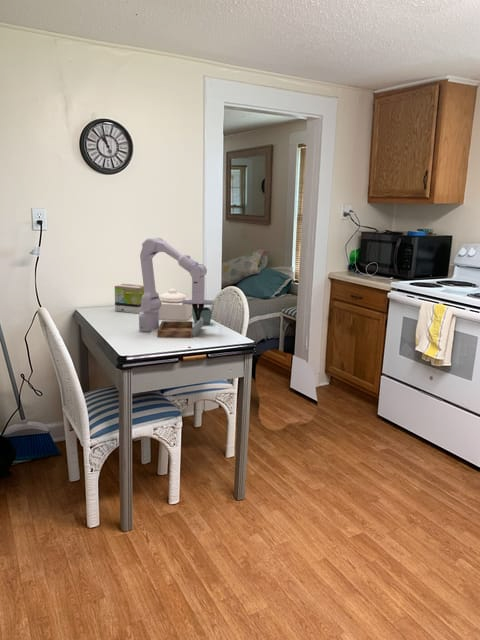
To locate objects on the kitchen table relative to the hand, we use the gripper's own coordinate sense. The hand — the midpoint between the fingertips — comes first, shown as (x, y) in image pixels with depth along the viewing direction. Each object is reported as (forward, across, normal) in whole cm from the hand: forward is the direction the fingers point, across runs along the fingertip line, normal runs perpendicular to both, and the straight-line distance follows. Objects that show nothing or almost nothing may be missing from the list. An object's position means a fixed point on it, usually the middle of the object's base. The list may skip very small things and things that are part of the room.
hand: (198, 320), depth 234 cm
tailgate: (+6, -2, 0) cm, 6 cm away
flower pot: (+8, +1, +19) cm, 21 cm away
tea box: (+8, -40, +55) cm, 68 cm away
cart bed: (+7, -10, 0) cm, 12 cm away
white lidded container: (+8, -14, +41) cm, 44 cm away
